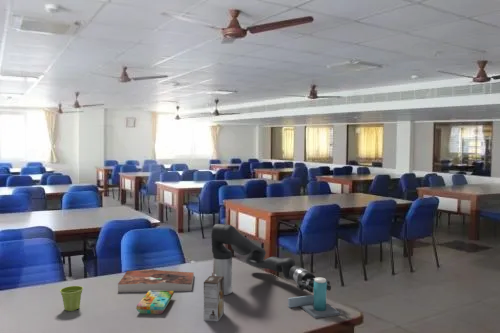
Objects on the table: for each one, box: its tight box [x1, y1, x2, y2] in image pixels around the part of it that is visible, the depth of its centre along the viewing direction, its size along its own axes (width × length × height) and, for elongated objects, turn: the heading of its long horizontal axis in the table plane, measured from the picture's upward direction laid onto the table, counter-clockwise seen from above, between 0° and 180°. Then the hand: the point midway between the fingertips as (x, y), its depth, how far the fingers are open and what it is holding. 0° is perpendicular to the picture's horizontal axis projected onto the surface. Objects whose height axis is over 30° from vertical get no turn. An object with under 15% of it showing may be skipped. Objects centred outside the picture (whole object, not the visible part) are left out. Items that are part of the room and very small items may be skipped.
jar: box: [313, 276, 328, 311], centre depth 190 cm, size 6×6×13 cm
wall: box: [287, 294, 314, 309], centre depth 198 cm, size 18×1×4 cm, turn 110°
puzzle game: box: [135, 291, 175, 315], centre depth 195 cm, size 12×5×20 cm
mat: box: [300, 302, 341, 319], centre depth 190 cm, size 12×13×1 cm
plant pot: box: [59, 285, 84, 312], centre depth 191 cm, size 9×9×9 cm
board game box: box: [117, 268, 195, 293], centre depth 226 cm, size 36×23×5 cm, turn 95°
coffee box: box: [203, 275, 225, 322], centre depth 183 cm, size 9×6×16 cm
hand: (321, 289), depth 189 cm, fingers open, 8 cm apart
